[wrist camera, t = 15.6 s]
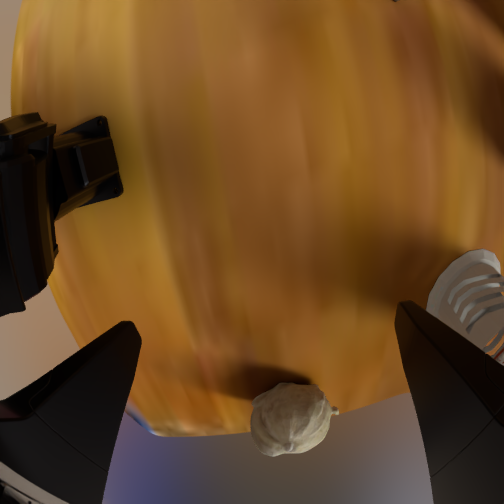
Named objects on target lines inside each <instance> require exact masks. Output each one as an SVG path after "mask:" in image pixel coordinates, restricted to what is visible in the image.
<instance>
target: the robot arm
mask: <svg viewBox="0 0 504 504" xmlns="http://www.w3.org/2000/svg"><path fill="white" fill-rule="evenodd" d="M100 120H101V121H102V124H101V125H100ZM54 133H56V124H48V122H43V120H42V119H41V117H40V115H39V113H38V112H33V113H27V114H21V115H16V116H12V117H9V118H7V119H4V120H2V121H0V317H1V316H4V315H7V314H9V313H15V312H22V311H25V310H26V307H25V304H24V302H25V301H27V300H29V299H31V298H32V297H34V296H36V295H37V294H38V293H40V292H41V291H42V290H43V289H44V288H45V287H46V286H47V279H48V278H49V276H50V274H51V272H52V270H53V269H54V260H55V258H56V256H57V254H58V252H59V251H58V244H56V236H55V226H54V222H55V221H57V220H58V219H60V218H61V217H63V216H64V215H66V214H68V213H69V212H71V211H72V210H74V209H76V208H78V207H82V206H85V205H89V204H93V203H96V202H100V201H104V200H108V199H112V198H116V197H118V196H120V195H122V193H123V186H122V182H121V178H120V174H119V167H118V163H117V159H116V155H115V151H114V146H113V142H112V139H111V136H110V132H109V127H108V122H107V118H106V117H105V116H99V117H96V118H94V119H92V120H89V121H87V122H85V123H83V124H81V125H79V126H77V127H75V128H73V129H71V130H69V131H67V132H65V133H63V134H61V135H59V136H56V137H54ZM115 188H117V189H118V192H116V189H115ZM394 324H395V331H396V335H397V340H398V344H399V349H400V354H401V359H402V364H403V368H404V372H405V375H406V378H407V382H408V385H409V388H410V392H411V395H412V399H413V402H414V406H415V410H416V413H417V418H418V421H419V426H420V430H421V434H422V438H423V442H424V448H425V452H426V457H427V463H428V468H429V473H430V477H431V478H430V480H431V486H432V494H433V501H434V504H504V366H503V365H502V364H500V363H499V362H498V361H496V360H495V359H494V358H492V357H491V356H490V355H488V354H485V352H484V351H483V350H481V349H480V348H479V347H477V346H476V345H474V344H473V343H472V342H470V341H469V340H468V339H466V338H465V337H463V336H462V335H461V334H459V333H458V332H456V331H455V330H454V329H452V328H451V327H449V326H448V325H446V324H445V323H444V322H442V321H441V320H439V319H438V318H436V317H435V316H433V315H432V314H430V313H429V312H428V311H426V310H425V309H423V308H422V307H420V306H419V305H417V304H416V303H414V302H413V301H411V300H407V301H401V302H399V303H398V306H397V311H396V317H395V323H394ZM141 344H142V339H141V336H140V334H139V332H138V331H137V329H136V327H135V325H134V323H133V322H132V321H121V322H119V323H118V324H117V325H115V326H114V327H112V328H111V329H109V330H108V331H106V332H105V333H103V334H102V335H100V336H99V337H98V338H96V339H95V340H93V341H92V342H90V343H89V344H87V345H86V346H85V347H83V348H82V349H80V350H79V351H77V352H76V353H75V354H73V355H72V356H70V357H69V358H67V359H66V360H64V361H63V362H62V363H60V364H59V365H57V366H56V367H55V368H53V370H50V371H49V372H47V373H46V374H45V375H43V376H42V377H40V378H39V379H37V380H36V381H34V382H33V383H31V384H29V385H28V386H26V387H25V388H23V389H21V390H20V391H18V392H16V393H15V394H13V395H11V396H10V397H8V398H6V399H4V400H1V401H0V504H102V500H103V495H104V490H105V485H106V481H107V476H108V471H109V467H110V462H111V458H112V454H113V450H114V446H115V442H116V439H117V435H118V431H119V427H120V423H121V420H122V417H123V413H124V410H125V406H126V403H127V400H128V396H129V393H130V390H131V387H132V383H133V380H134V376H135V372H136V367H137V362H138V358H139V353H140V349H141Z"/></svg>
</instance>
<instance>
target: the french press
mask: <svg viewBox="0 0 504 504" xmlns="http://www.w3.org/2000/svg"><path fill="white" fill-rule="evenodd" d="M499 285H500V287H499ZM500 292H504V277H503V276H502V275H501V274H500V263H499V261H498V259H497V258H496V256H495V254H494V253H492V252H490V251H487V250H485V249H479V250H474V251H469V252H467V253H465V254H464V255H462V256H461V257H459V258H458V259H456V260H454V261H453V262H452V263H451V264H450V265H449V266H448V267H447V269H446V270H445V271H444V272H443V273H442V274H441V275H440V276H439V277H438V279H437V281H436V283H435V285H434V287H433V289H432V290H431V292H430V294H429V298H428V303H427V308H426V311H428V312H429V313H430V314H432V315H433V316H435V317H436V318H438V319H439V320H441V321H442V322H444V323H445V324H446V325H448V326H449V327H451V328H452V329H454V330H455V331H456V332H458V333H459V334H461V335H462V336H463V337H465V338H466V339H468V340H469V341H470V342H472V343H473V344H474V345H476V346H477V347H479V348H480V349H481V350H483V351H484V352H485V353H487V352H489V351H491V350H492V349H493V348H494V347H495V346H496V345H497V344H498V342H499V341H500V340H501V338H502V336H503V334H504V296H503V295H502V294H501V293H500ZM498 332H499V333H498ZM497 333H498V335H497V337H496V338H495V339H494V340H493V341H492V343H491V344H490V345H489V346H487V347H485V346H486V344H487V343H488V342H489V341H490V340H491V339H492V338H493V337H494V336H495V335H496V334H497ZM491 357H492V358H494V359H495V360H496V361H498V362H499V363H500V364H502V365H503V366H504V343H503V345H502V346H501V347H500V348H499V349H498V351H497V352H496V353H495V354H494V355H492V356H491Z"/></svg>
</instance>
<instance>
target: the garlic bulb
mask: <svg viewBox="0 0 504 504" xmlns="http://www.w3.org/2000/svg"><path fill="white" fill-rule="evenodd" d="M252 405H253V407H254V409H253V412H252V415H251V434H252V438H253V440H254V443H255V445H256V447H257V448H258V450H260V451H261V452H262V453H263V454H266V455H269V456H277V455H280V454H283V453H302V452H305V451H308V450H310V449H311V448H313V447H315V446H316V445H317V444H318V443H320V442H321V441H322V440H323V439H324V437H325V436H326V434H327V431H328V429H329V421H330V416H331V414H336V415H338V414H339V410H338V408H336V407H334V406H333V407H331V406H330V404H329V401H328V400H327V399H326V396H325V394H324V392H322V391H321V390H320V389H319V387H318V385H316V384H313V385H296V384H295V383H279V384H278V385H276V386H275V387H274V388H273V389H271V390H269V391H267V392H264V393H262V394H260V395H259V396H257V397H256V398H255V399H254V400H253V402H252Z"/></svg>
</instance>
